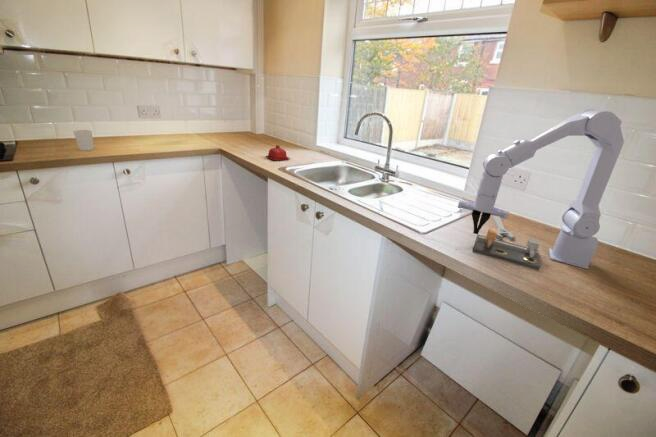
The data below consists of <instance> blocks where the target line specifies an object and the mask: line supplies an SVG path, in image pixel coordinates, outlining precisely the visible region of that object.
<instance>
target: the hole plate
mask: <svg viewBox="0 0 656 437" xmlns="http://www.w3.org/2000/svg"><path fill="white" fill-rule="evenodd" d="M487 246H488V240H486V236H485V235H481V234H479V233H478V234H476V238H475V241H474V245H473V247H472V252H473V253H475V254H480V255H484V256H487V257H490V258H493V259H498V260H501V261H505V262H508V263H512V264H515V265H517V266H522V267H526V268H529V269H533V270H536V271H540V268H541V261H540V254H539V246H540V242H539V239H538V238H537V239H536V238H532V237H528V240H527V242H526V245H525V246H523V245H519V244H516V243H511V242H508V241H505V240H500V239H497V238H495V241H494V242H492V243H491V245H490V247H489V248H488V247H487Z"/></svg>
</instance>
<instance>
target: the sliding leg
mask: <svg viewBox="0 0 656 437" xmlns="http://www.w3.org/2000/svg"><path fill="white" fill-rule="evenodd" d="M487 230H488V231H487V233H486V236H485V237H486V240H488V246H487V247H488V248H489V247H490V245H491V243H492V242H494V241H495V239H497V238H496V235H497V230H498V229H497V228H493V227H488V229H487Z"/></svg>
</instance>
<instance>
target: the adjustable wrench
mask: <svg viewBox="0 0 656 437" xmlns="http://www.w3.org/2000/svg"><path fill="white" fill-rule="evenodd" d="M490 217H491V218H492V221H493V223H494V225H495V229H498V230H497V235H496V238H495V239H497V240H501V241H503V239H504V237H505V238H507V239H508V240H509V241H512V240H513V239H514V232H511V231H509V230H507V229H506V228H505V226H504V224H503V221H502V219H501V218H502V217H498V216H494V215H490Z"/></svg>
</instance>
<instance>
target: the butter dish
mask: <svg viewBox="0 0 656 437" xmlns="http://www.w3.org/2000/svg"><path fill="white" fill-rule="evenodd" d="M265 157H266V158H268V159H270V160H272V161H275V162H277V161H287V160H290V159H291V157H288V156H287V152H286V150H285V149H283V148H281V145H278V144H277V145H275V147H271V148H269V151H268V153H267V155H266V156H265Z"/></svg>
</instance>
